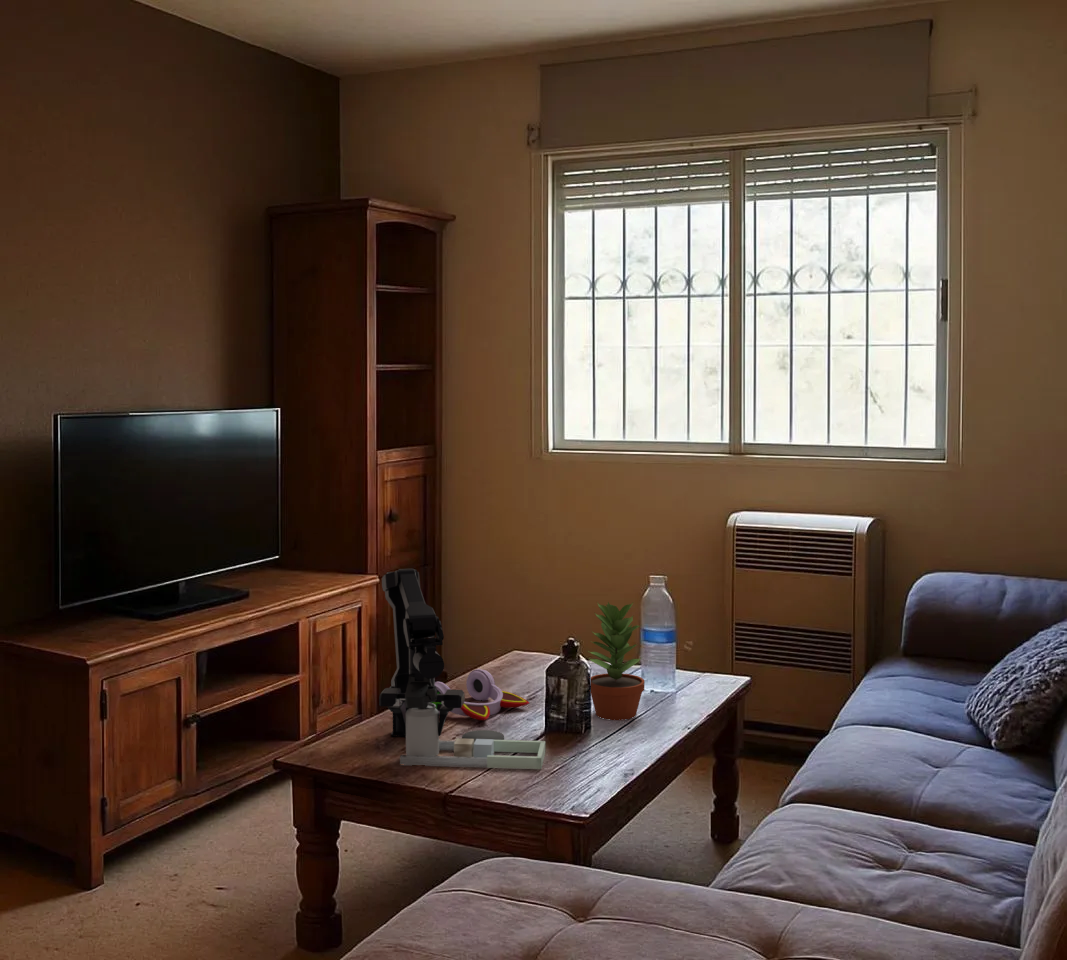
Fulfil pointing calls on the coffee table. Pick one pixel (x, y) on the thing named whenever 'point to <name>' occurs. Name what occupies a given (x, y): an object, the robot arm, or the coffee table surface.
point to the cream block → (464, 747)
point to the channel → (444, 758)
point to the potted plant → (615, 668)
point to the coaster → (483, 735)
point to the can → (422, 731)
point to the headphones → (482, 696)
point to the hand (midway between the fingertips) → (422, 734)
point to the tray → (517, 761)
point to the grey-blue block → (483, 747)
